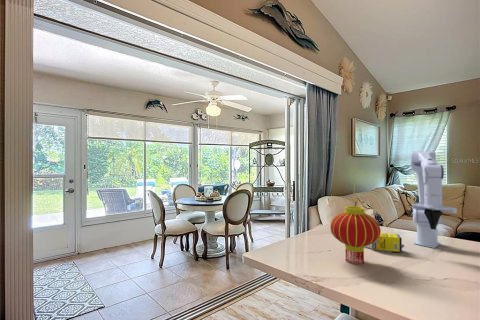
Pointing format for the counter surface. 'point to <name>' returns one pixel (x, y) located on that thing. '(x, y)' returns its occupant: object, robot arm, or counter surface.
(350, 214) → the lantern
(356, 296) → the counter surface
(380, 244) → the supplement box
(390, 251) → the rubber mat
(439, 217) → the robot arm
